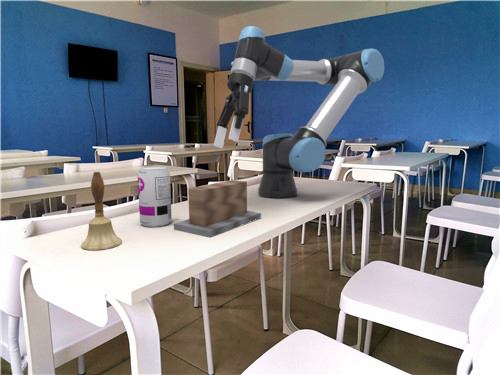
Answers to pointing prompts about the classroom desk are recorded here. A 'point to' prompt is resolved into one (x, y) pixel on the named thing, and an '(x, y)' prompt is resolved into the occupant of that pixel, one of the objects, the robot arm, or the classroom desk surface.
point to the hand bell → (99, 221)
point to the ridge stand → (217, 208)
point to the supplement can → (154, 196)
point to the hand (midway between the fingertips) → (224, 144)
